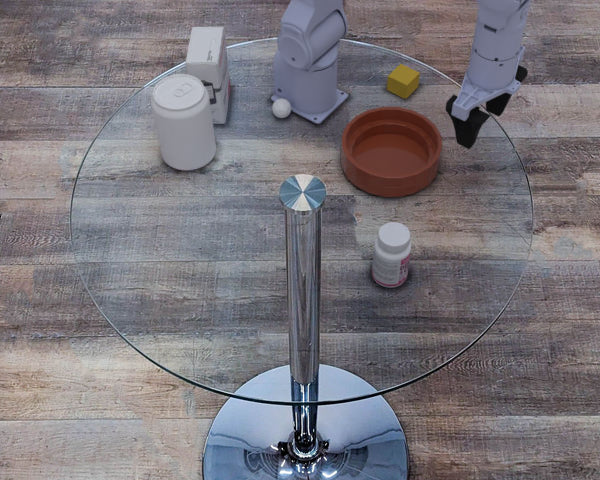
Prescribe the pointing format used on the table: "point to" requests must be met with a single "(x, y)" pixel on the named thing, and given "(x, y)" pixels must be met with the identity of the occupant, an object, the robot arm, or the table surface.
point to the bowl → (391, 151)
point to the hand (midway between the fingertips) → (479, 128)
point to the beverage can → (183, 122)
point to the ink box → (210, 67)
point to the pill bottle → (391, 255)
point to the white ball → (281, 108)
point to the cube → (403, 81)
